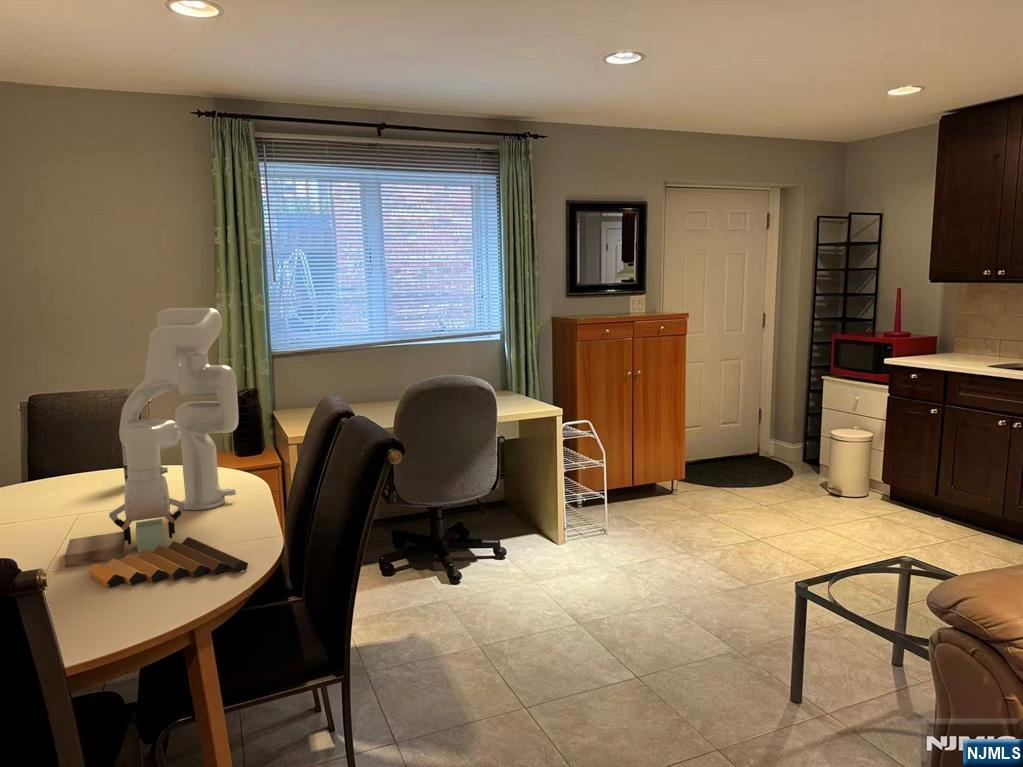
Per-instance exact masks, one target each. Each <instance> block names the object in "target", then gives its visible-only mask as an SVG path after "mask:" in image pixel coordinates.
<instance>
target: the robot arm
mask: <svg viewBox="0 0 1023 767" xmlns="http://www.w3.org/2000/svg"><path fill="white" fill-rule="evenodd" d="M156 323H157V326H158V327H155V328H154V329H153V330H152V331H151V333H150V336H149V343H148V350H147V357H146V359H147V360H146V366H145V375H144V380H143V381H142V382H141V383H140V384H139V385H138V386H137V387H136V388H135V389H134V390H133V391H132V392H131V394H130V395H129V396H128V398H127V399H126V401H125V402H124V404H123V407H122V409H121V413H120V414H121V415H120V421H119V431H118V432H119V440H120V443H121V445H122V444H123V445H124V446H125V447H126V457H127V469H128V480H127V481H125V480H124V493H123V494H124V496H123V497H124V502H123V504H121V505H120V506H118V507H117V508H116V509H113V510H112V511H111V512H109V514H108V516H109V518H110V520H111V521H112V522H113V523H114V524H115V525H116V526H117V527H119V528H121V530H123V531H124V541H125V542H127V545H128V546H129V545H131V544H132V536H131V535H132V534H131V524H132V522H139V521H146V520H153V519H160V518H163V517H164V518H165V519H166V520H167V524H168V526H167V527H168V538H169V539H173V535H175V534H176V531H175V530H176V529H175V522H176V520H178V518H180V516H181V515H182V514H183V511H184V510H185V511H204V510H209V509H213V508H218V507H220V506H222V505H223V504H225V502H226V497H228V496H236V495H237V494H236V493H237V492H236V488H232V489H231V488H230V487H229V488H228V487H227V488H224V489H223V488H221V486H220V485H219V483H220V482H219V473H218V472H219V471H218V470H219V469H218V460H217V458H218V457H217V446H216V443H215V441H214V440H213V439H212V437H211V436H210V435H209V434H228V433H232V432H234V431H235V430H236V429H237V428H238V425H239V419H240V418H239V415H240V414H239V402H238V401H239V399H238V385H237V377H236V374H235V371H234V370H233V369H232V367H230V366H228V365H224V364H221V365H220V364H212V365H211V364H210V362H209V357H208V351H209V350H210V348H211V346H212V345H213V343H214V342H215V341H216V340H217V338H218V337H219V335H220V333H221V331H222V326H223V319H222V315H221V314H220V312H219V311H218V310H217V309H214V308H212V307H172V308H164V309H162V310H160V311H159V312H158V313H157V314H156ZM177 387H178V390H179V392H180V393H181V395H182V396H184V397H187V398H217V401H215V400H214V401H211V400H209V401H208V400H204V401H188V402H187V401H186V402H183V403H182V404H180V405H179V406H178V407H177V408H176V410H175V413H174V418H175V419H174V420H172V419H140V418H139V417H140V414H141V412H142V410H143V408H144V407H145V406H146V405H147V403H149V402H150V401H151V400H153V399H154V398H156V397H158V396H160V395H163V394H165V393H167V392H170V391H172V390H174V389H176V388H177ZM179 442H180V449H181V461H182V475H183V476H182V477H183V485H184V486H183V487H184V499H183V500H182V501H180V500H177V499H174V498H170V493H169V485H168V482H167V479H166V476H165V475H164V474H165V473H166V474H167V473H168V467H163V465H162V462H161V452H160V450H165V449H166V450H167V449H171V448H172V447H175V445H177V444H178V443H179ZM171 506H175V507H177V510H176V511H175V512H173V513H171ZM123 512H124V514H125V520H123V519H121V518H119V516H118V515H120V514H121V513H123Z"/></svg>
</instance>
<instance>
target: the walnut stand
mask: <svg viewBox="0 0 1023 767" xmlns="http://www.w3.org/2000/svg"><path fill="white" fill-rule="evenodd" d="M125 549H126V541H124V530H123V531H117V532H111V533H105V534H97V535H91V536H84V537H83V536H82V537H78V538H71V539H69V541H68V544H67V547H66V551H65V553H64V560H65V562H64V563H65V568H71V567H78V566H84V565H88V564H96V563H97V564H98V563H101V562H102V563H103V562H107V561H108V562H110V561H111V560H112V559H116V560H121V559H124V558H125ZM120 558H121V559H120Z"/></svg>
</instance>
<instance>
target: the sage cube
mask: <svg viewBox="0 0 1023 767" xmlns="http://www.w3.org/2000/svg"><path fill="white" fill-rule="evenodd" d="M163 523H164V521H163V518H154V519H147V520H140V521H135V536H136V547H137V552H138V553H141V552H142V551H143V550H144V549H145V550H147V551H151V550H153V551H154V550H155V549H156V548H157V547H158V546H159V545H161V546H163V547H165V537H164V536H165V535H164V524H163ZM140 551H141V552H140Z"/></svg>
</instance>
